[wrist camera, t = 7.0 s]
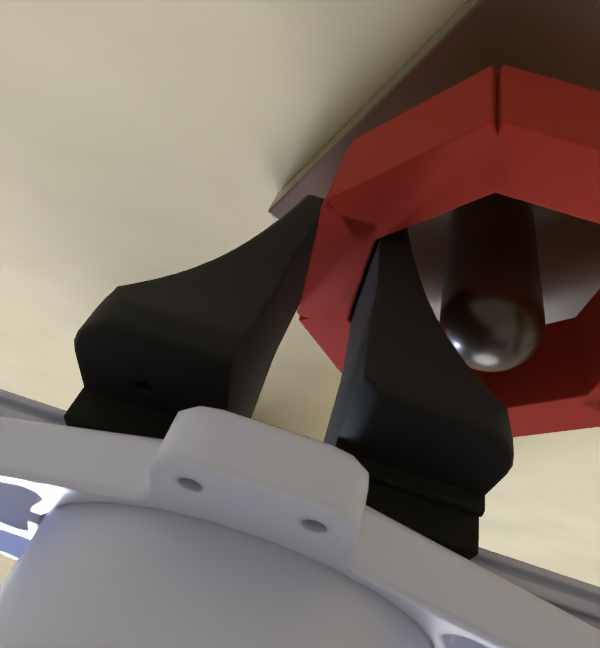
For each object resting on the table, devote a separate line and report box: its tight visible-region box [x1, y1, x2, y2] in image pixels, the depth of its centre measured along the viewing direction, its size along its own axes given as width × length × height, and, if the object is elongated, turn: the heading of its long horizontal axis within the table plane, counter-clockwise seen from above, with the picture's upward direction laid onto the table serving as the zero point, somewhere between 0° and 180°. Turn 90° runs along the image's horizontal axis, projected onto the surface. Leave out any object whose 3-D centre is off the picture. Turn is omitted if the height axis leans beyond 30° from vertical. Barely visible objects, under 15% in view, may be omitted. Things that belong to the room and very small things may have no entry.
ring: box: [297, 65, 600, 437], centre depth 13 cm, size 9×9×3 cm
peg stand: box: [268, 0, 600, 372], centre depth 14 cm, size 10×10×7 cm
